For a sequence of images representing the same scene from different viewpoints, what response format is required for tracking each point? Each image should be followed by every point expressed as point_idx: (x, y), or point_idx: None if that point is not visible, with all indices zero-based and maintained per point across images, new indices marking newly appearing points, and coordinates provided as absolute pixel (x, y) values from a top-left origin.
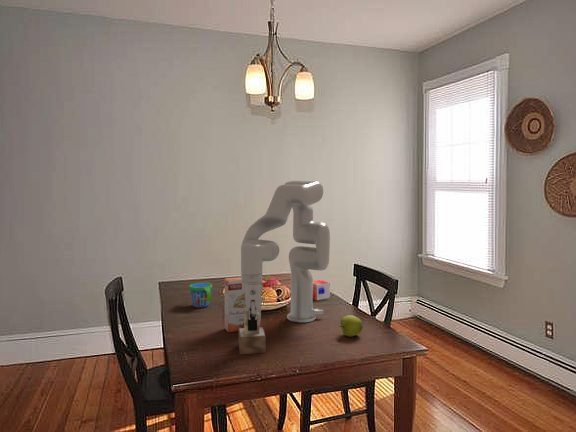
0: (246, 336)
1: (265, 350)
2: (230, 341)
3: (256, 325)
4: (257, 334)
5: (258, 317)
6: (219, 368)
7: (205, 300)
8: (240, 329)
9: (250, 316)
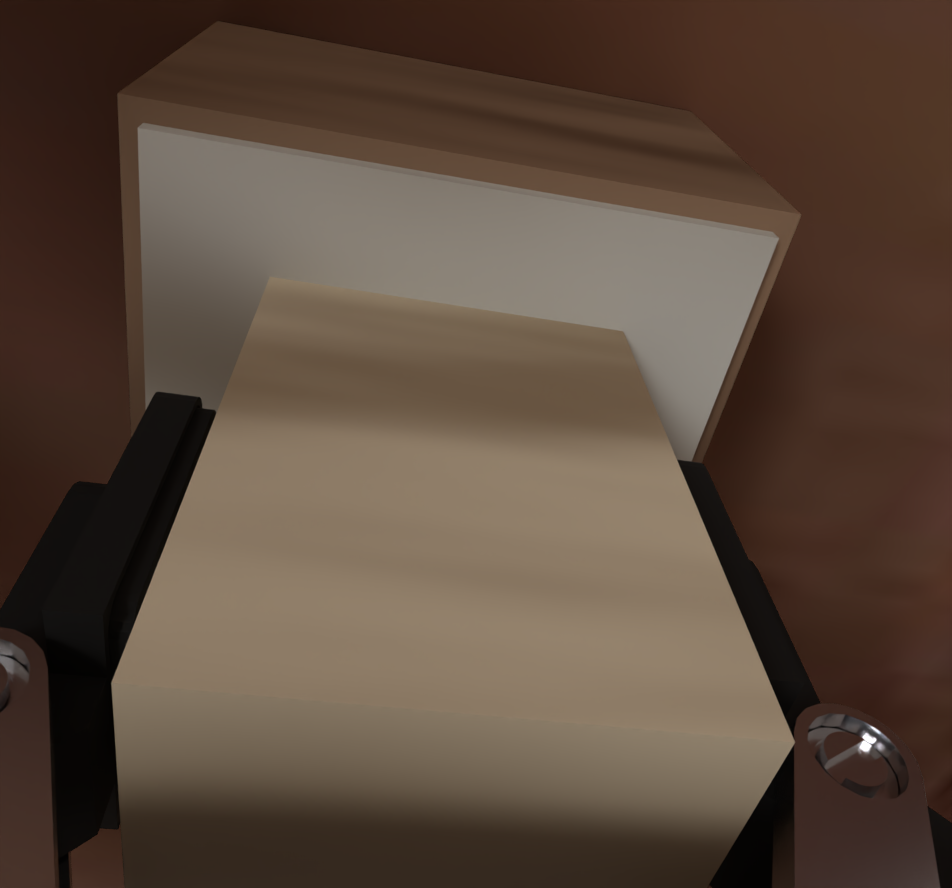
0: None
1: (702, 123)
2: (51, 509)
3: (728, 552)
4: (649, 380)
5: (732, 659)
6: (857, 701)
7: None
8: None
9: None
